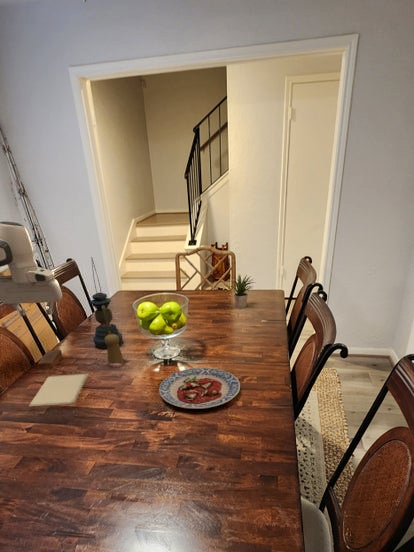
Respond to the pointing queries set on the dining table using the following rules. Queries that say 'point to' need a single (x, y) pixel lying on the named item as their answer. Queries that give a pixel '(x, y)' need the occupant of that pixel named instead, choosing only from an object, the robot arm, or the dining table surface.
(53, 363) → the eraser
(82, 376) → the board
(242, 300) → the house plant
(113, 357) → the cork
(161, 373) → the dining table surface
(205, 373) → the ceramic plate
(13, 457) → the dining table surface
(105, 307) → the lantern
